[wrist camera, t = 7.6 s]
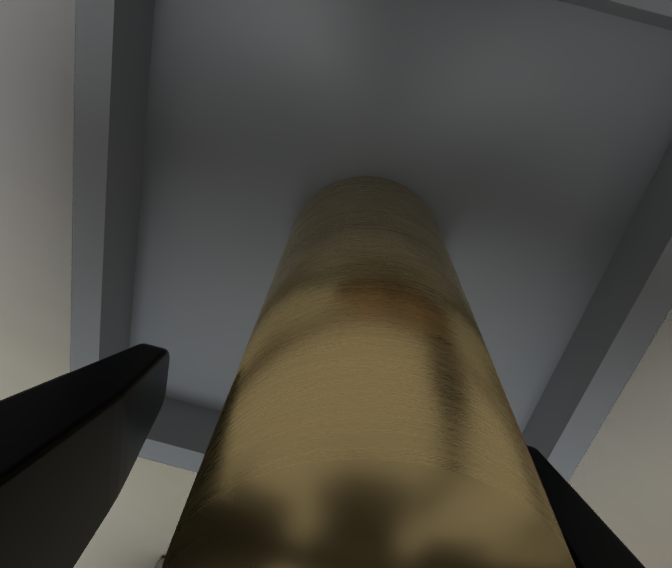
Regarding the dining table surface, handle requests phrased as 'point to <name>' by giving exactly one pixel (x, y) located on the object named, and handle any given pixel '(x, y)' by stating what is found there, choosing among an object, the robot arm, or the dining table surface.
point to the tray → (379, 161)
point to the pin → (367, 413)
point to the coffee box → (159, 563)
